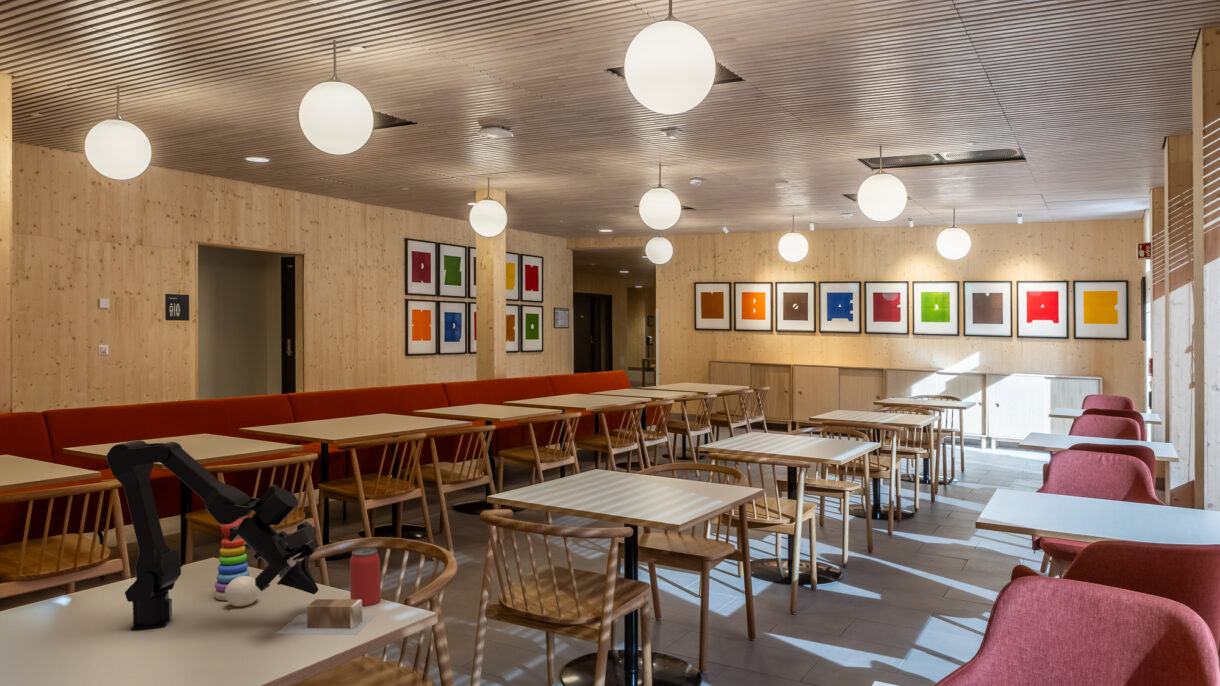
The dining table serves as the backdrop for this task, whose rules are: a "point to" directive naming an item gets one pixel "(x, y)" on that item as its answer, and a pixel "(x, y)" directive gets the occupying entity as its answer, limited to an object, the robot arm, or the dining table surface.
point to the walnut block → (334, 613)
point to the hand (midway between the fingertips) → (316, 592)
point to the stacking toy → (230, 561)
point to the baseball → (241, 591)
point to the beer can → (365, 576)
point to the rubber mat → (300, 627)
